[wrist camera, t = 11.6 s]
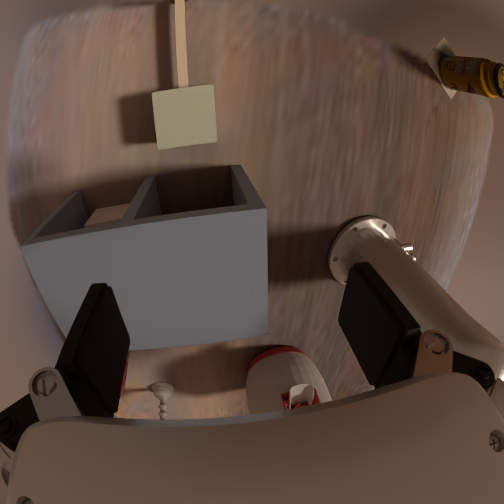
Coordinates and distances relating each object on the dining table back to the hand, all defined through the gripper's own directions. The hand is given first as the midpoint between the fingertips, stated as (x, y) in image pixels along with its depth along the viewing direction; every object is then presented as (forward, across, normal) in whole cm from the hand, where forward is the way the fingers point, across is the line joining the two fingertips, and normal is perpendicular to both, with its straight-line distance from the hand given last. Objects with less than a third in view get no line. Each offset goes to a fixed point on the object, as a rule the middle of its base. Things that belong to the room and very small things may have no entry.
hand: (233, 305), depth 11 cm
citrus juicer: (+27, -10, +39) cm, 49 cm away
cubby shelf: (+26, +8, +8) cm, 28 cm away
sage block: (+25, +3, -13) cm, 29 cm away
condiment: (+27, -36, -18) cm, 48 cm away
